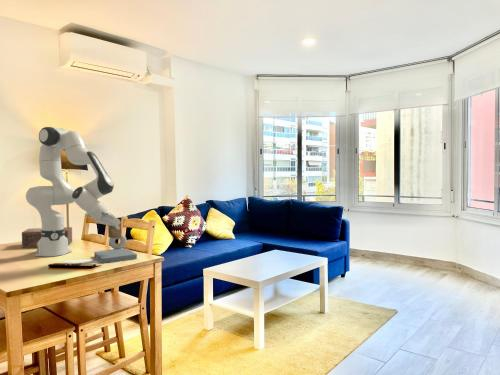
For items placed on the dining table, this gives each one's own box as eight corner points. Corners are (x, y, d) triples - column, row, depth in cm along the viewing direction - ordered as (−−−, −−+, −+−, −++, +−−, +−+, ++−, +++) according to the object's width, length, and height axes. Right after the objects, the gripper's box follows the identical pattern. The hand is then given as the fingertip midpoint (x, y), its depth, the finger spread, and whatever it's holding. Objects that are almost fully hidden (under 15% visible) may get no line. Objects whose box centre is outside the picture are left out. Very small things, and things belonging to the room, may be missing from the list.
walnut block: (108, 237, 212) (108, 220, 211) (116, 235, 215) (116, 219, 215) (112, 238, 208) (112, 221, 208) (121, 237, 212) (121, 220, 211)
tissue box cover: (72, 242, 256) (71, 227, 255) (68, 246, 242) (67, 230, 242) (28, 244, 249) (28, 228, 248) (22, 248, 235) (21, 232, 235)
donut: (109, 250, 230) (108, 234, 229) (109, 249, 233) (109, 233, 233) (126, 249, 233) (126, 233, 232) (126, 248, 236) (126, 232, 236)
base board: (94, 256, 215) (94, 252, 215) (126, 252, 225) (126, 248, 225) (102, 263, 200) (102, 258, 200) (136, 258, 210) (136, 254, 210)
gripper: (111, 209, 199) (129, 225, 206) (93, 206, 213) (110, 221, 220) (103, 218, 196) (121, 235, 203) (85, 214, 210) (103, 230, 217)
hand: (115, 228), depth 212 cm, fingers closed on walnut block, 5 cm apart
